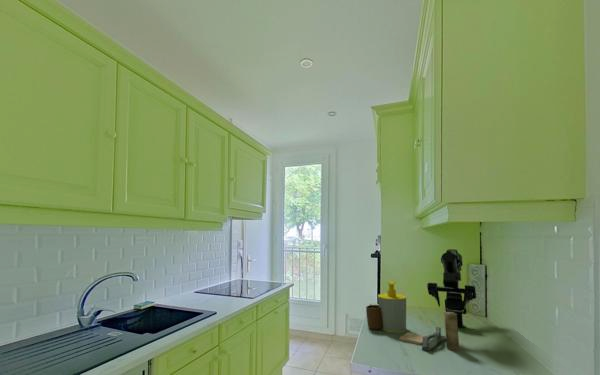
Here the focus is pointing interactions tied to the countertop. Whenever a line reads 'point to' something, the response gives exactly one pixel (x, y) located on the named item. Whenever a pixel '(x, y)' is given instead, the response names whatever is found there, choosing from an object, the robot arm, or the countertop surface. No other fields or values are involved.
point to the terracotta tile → (412, 338)
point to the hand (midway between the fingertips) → (451, 307)
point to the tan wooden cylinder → (451, 331)
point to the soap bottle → (393, 310)
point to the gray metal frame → (433, 340)
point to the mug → (374, 317)
